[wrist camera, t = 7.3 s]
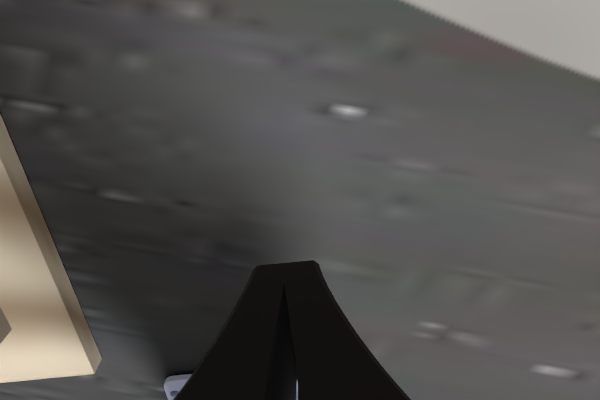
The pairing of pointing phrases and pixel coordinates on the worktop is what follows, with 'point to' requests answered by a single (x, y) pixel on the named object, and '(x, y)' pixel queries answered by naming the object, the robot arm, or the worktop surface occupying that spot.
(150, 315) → the worktop surface
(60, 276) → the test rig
